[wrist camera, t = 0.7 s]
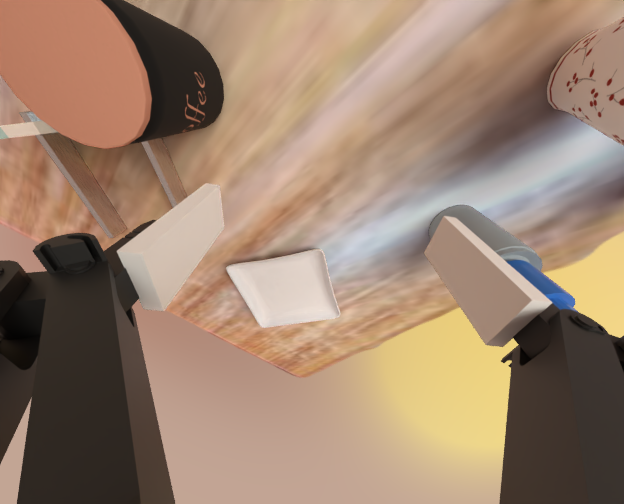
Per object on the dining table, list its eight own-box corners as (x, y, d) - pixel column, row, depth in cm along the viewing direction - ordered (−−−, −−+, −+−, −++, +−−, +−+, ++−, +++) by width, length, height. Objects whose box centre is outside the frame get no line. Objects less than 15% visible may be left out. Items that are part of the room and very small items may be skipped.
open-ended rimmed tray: (44, 111, 33) (18, 112, 30) (144, 98, 32) (127, 98, 29) (122, 228, 44) (109, 237, 41) (198, 222, 43) (190, 231, 40)
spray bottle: (476, 196, 39) (655, 305, 18) (480, 235, 43) (627, 359, 23) (424, 217, 41) (529, 333, 21) (433, 252, 46) (527, 377, 25)
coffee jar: (194, 143, 35) (103, 174, 20) (131, 72, 30) (-51, 44, 15) (242, 96, 31) (174, 92, 16) (179, 6, 26) (2, -114, 12)
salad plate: (263, 319, 60) (260, 330, 57) (228, 258, 48) (222, 267, 45) (340, 307, 56) (341, 318, 54) (322, 238, 45) (322, 248, 42)
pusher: (59, 122, 33) (-37, 130, 24) (139, 112, 32) (70, 117, 23) (65, 131, 34) (-27, 142, 25) (143, 121, 33) (78, 129, 24)
